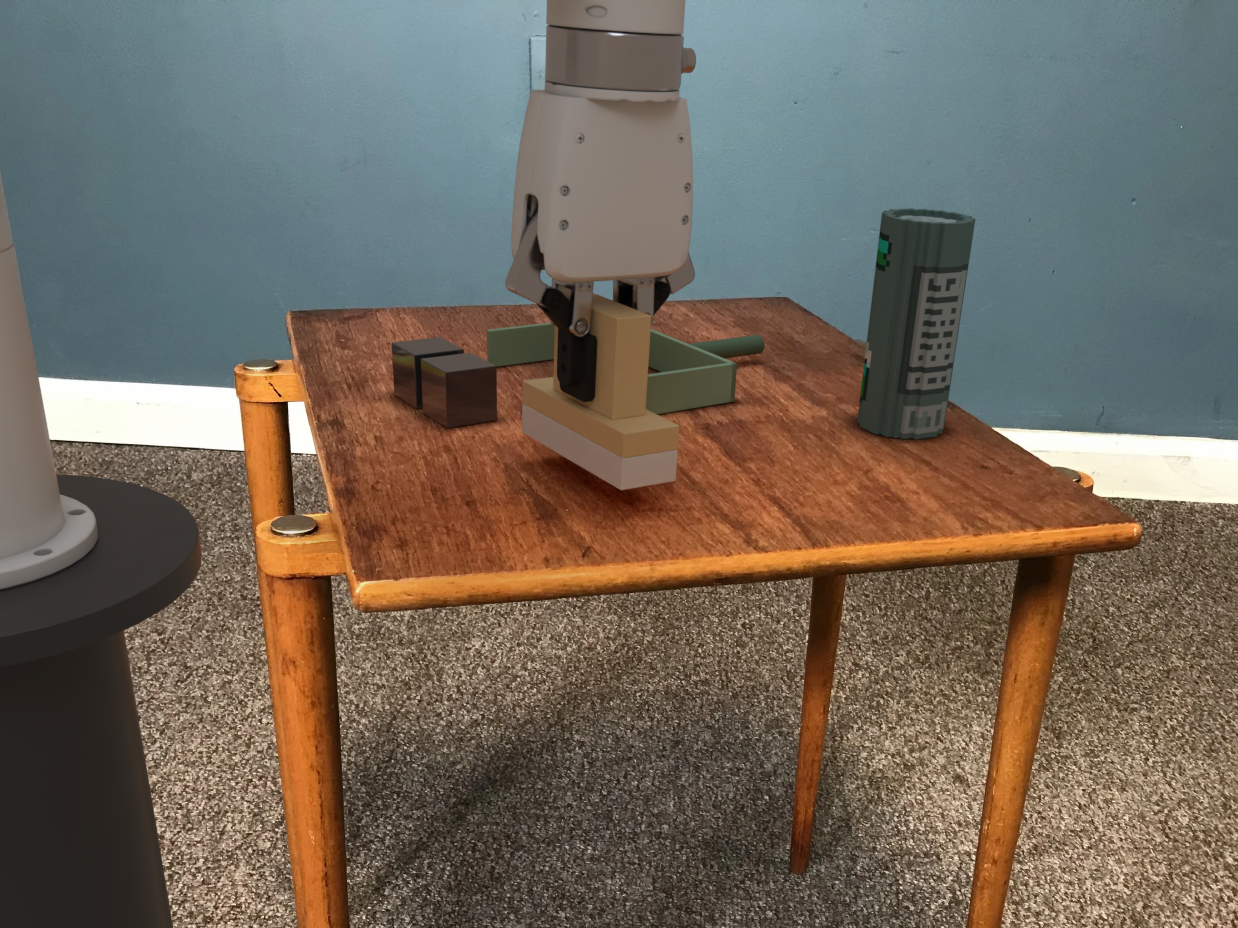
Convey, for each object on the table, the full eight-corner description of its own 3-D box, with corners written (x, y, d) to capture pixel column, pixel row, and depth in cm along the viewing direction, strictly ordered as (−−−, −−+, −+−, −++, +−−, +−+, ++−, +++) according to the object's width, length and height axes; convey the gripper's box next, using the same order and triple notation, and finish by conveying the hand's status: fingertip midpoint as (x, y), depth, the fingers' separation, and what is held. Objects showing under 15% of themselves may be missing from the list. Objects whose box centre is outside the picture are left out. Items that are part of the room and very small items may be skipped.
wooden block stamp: (620, 490, 77) (629, 329, 73) (521, 432, 85) (523, 285, 81) (676, 481, 79) (687, 324, 75) (573, 425, 88) (578, 281, 83)
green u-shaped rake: (597, 424, 94) (598, 383, 93) (486, 366, 106) (486, 329, 105) (822, 387, 105) (826, 350, 104) (699, 338, 117) (701, 304, 116)
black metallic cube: (416, 409, 95) (414, 355, 93) (393, 394, 98) (390, 342, 96) (465, 402, 97) (464, 349, 96) (441, 388, 100) (440, 336, 98)
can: (907, 410, 101) (934, 207, 94) (958, 433, 96) (991, 221, 89) (843, 418, 98) (866, 210, 91) (892, 442, 93) (921, 225, 86)
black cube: (447, 428, 92) (445, 372, 90) (422, 413, 95) (420, 358, 93) (497, 420, 94) (496, 365, 92) (471, 405, 97) (470, 352, 95)
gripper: (691, 66, 79) (670, 366, 87) (450, 57, 70) (453, 391, 79) (768, 77, 74) (738, 396, 82) (518, 69, 65) (513, 426, 73)
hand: (598, 390), depth 80 cm, fingers closed on wooden block stamp, 2 cm apart
